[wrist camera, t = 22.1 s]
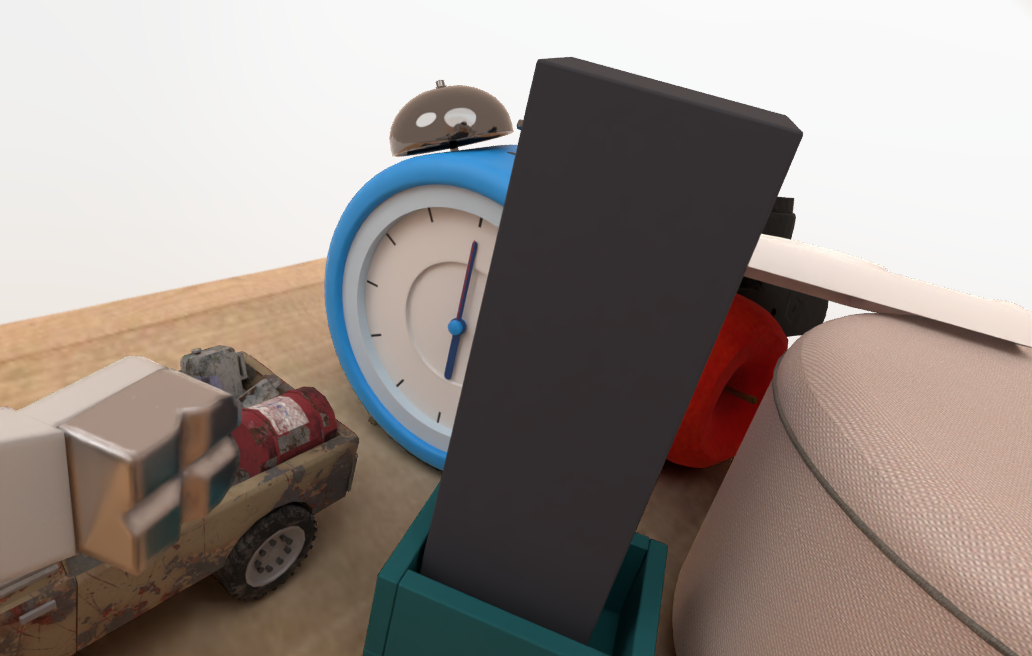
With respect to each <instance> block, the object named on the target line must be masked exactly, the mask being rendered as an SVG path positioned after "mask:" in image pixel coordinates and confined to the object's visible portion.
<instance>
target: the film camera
mask: <svg viewBox="0 0 1032 656" xmlns="http://www.w3.org/2000/svg"><path fill="white" fill-rule="evenodd" d="M793 205H794V198H785V197H777V198H776V200H775V203H774V205H773V208H772V210H771V212H770V215H769V217H768V219H767V222H766V224H765V226H764V229H763V231H762V233H761V234H764V235H770V236H776V237H781V238H785V239H790V240H791V237H792V233H793V230H794V225H795V219H796V216H795V214H794V213H793ZM737 294H739V295H742V296H744V297H745V298H747V299H749V300H751V301H753V302H755V303H757V304H758V305H760V306H761V307H762V308H764V309H765V310H767V311H768V312H769V313H770V314H771V315H772V316H773V317H774V318H775V319H776V321H777V322H778V323H779V325H780V326H781V328H782V330H783V332H784V333H785V335H786V337H789V336H797V335H803V334H804V333H806V332H807V331H809V330H811V329H812V328H814V327H816V326H818V325H820V324H822V323H823V321H824V319H825V316H826V311H827V308H828V300H825V299H822V298H818V297H815V296H811V295H808V294H804V293H801V292H797V291H794V290H790V289H787V288H783V287H780V286H776V285H773V284H769V283H766V282H762V281H759V280H755V279H752V278H748V277H745V276H743V278H742V281H741V283H740V285H739V288H738V290H737Z"/></svg>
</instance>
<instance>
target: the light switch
mask: <svg viewBox="0 0 1032 656" xmlns="http://www.w3.org/2000/svg"><path fill="white" fill-rule="evenodd" d="M744 276H745V277H748V278H752V279H755V280H759V281H762V282H766V283H769V284H773V285H776V286H780V287H783V288H787V289H790V290H794V291H797V292H801V293H804V294H808V295H811V296H815V297H818V298H822V299H825V300H828V301H832V302H835V303H839V304H842V305H847V306H850V307H854V308H858V309H863V310H867V311H871V312H876V313H892V314H908V315H916V316H924V317H928V318H932V319H935V320H939V321H942V322H946V323H949V324H953V325H956V326H960V327H963V328H967V329H970V330H974V331H977V332H981V333H984V334H988V335H991V336H995V337H998V338H1002V339H1005V340H1009V341H1012V342H1014V343H1016V344H1017V345H1021V346H1026V347H1030V348H1032V312H1031V311H1028V310H1024V308H1023V307H1021V306H1020V305H1017V304H1015V303H1011V302H1008V301H1003V300H988V299H984V298H980V297H977V296H973V295H970V294H966V293H962V292H959V291H955V290H952V289H949V288H945V287H941V286H937V285H934V284H930V283H927V282H923V281H920V280H916V279H912V278H909V277H905V276H902V275H898V274H894V273H891V272H888V270H886V268H884V267H882V266H881V265H879V264H876V263H873V262H870V261H867V260H864V259H862V258H858V257H855V256H851V255H848V254H845V253H841V252H838V251H835V250H831V249H827V248H823V247H819V246H815V245H811V244H808V243H803V242H799V241H794V240H790V239H785V238H781V237H776V236H770V235H764V234H761V236H760V238H759V241H758V243H757V245H756V248H755V250H754V252H753V255H752V257H751V259H750V262H749V264H748V267H747V269H746V271H745V274H744Z"/></svg>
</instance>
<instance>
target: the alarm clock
mask: <svg viewBox="0 0 1032 656" xmlns="http://www.w3.org/2000/svg"><path fill="white" fill-rule="evenodd" d="M436 85H437V87H436V89H434V90H430V91H427V92H424V93H422V94H419V95H418V96H416V97H415V98H413V99H412V100H410V101H409V102H408V103H407V104H406V105H405V106H404V107H403V108H402V109H401V110H400V112H399V113H398V114H397V116H396V117H395V119H394V122H393V124H392V127H391V131H390V146H391V152H392V156H393V157H400V156H410V155H417V154H422V153H429V152H434V151H440V150H445V149H450V150H451V152H444V153H435V154H429V155H423V156H418V157H413V158H410V159H407V160H404V161H401V162H399V163H397V164H395V165H393V166H391V167H389V168H387V169H385V170H383V171H382V172H380V173H379V174H377V175H376V176H374V177H373V178H372V179H371V180H370V181H368V182H367V183H366V184H365V185H364V186H363V187H362V188H361V189H360V190H359V191H358V192H357V193H356V195H355V196H354V197H353V199H352V200H351V201H350V203H349V204H348V206H347V207H346V209H345V211H344V212H343V214H342V216H341V218H340V221H339V223H338V225H337V227H336V229H335V231H334V235H333V237H332V241H331V244H330V248H329V252H328V256H327V263H326V269H325V305H326V313H327V319H328V325H329V329H330V334H331V338H332V341H333V344H334V348H335V351H336V354H337V356H338V359H339V361H340V364H341V366H342V369H343V371H344V373H345V375H346V377H347V379H348V381H349V383H350V385H351V386H352V388H353V390H354V392H355V393H356V395H357V396H358V398H359V400H360V401H361V403H362V404H363V405H364V407H365V408H366V410H367V411H368V412H369V414H370V415H371V417H370V419H369V420H368V421H369V422H370V423H371V424H373V423H374V422H377V423H378V424H379V425H380V426H381V428H382V429H383V430H384V431H385V432H386V433H387V434H388V435H389V436H390V437H392V438H393V439H394V440H395V441H396V442H397V443H398V444H399V445H401V446H402V447H403V448H405V449H406V450H407V451H408V452H410V453H411V454H413V455H414V456H416V457H417V458H419V459H420V460H422V461H424V462H426V463H427V464H429V465H431V466H433V467H435V468H437V469H440V470H442V471H443V468H444V464H445V460H446V455H447V451H448V446H449V442H450V438H451V433H452V429H453V425H454V420H455V416H456V412H457V407H458V403H459V399H460V394H461V390H462V385H463V381H464V377H465V372H466V368H467V364H468V359H469V355H470V351H471V346H472V342H473V338H474V333H475V329H476V324H477V320H478V316H479V311H480V307H481V303H482V298H483V294H484V290H485V285H486V281H487V277H488V272H489V268H490V264H491V259H492V255H493V250H494V246H495V242H496V237H497V233H498V229H499V224H500V220H501V216H502V211H503V207H504V203H505V198H506V194H507V189H508V185H509V181H510V176H511V172H512V168H513V163H514V159H515V155H516V150H517V146H518V145H500V146H491V147H483V148H475V149H467V150H460V151H459V150H458V147H460V146H465V145H469V144H474V143H478V142H482V141H487V140H491V139H494V138H498V137H502V136H505V135H508V134H510V133H512V132H513V128H512V123H511V120H510V116H509V114H508V112H507V111H506V109H505V107H504V106H503V105H502V104H501V103H500V102H499V101H498V100H497V99H496V98H495V97H493V96H492V95H490V94H489V93H487V92H485V91H483V90H480V89H477V88H474V87H469V86H462V85H457V86H448V87H446V86H445V84H444V80H439V81H437V82H436ZM522 124H523V120H519V121H518V123H517V129H519V130H521V129H522Z"/></svg>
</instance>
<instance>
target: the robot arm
mask: <svg viewBox="0 0 1032 656" xmlns="http://www.w3.org/2000/svg"><path fill="white" fill-rule="evenodd" d="M241 424H242V402H241V401H240V400H238V399H237V398H236V397H235V396H234V395H232V394H230V393H227V392H225V391H223V390H221V389H218V388H216V387H214V386H211V385H209V384H207V383H204V382H202V381H200V380H197V379H195V378H193V377H191V376H188V375H186V374H184V373H181V372H179V371H177V370H174V369H169V368H167V367H165V366H163V365H161V364H158V363H156V362H154V361H152V360H149V359H147V358H145V357H143V356H126V357H124V358H122V359H120V360H118V361H116V362H114V363H112V364H110V365H108V366H106V367H104V368H102V369H100V370H98V371H96V372H94V373H92V374H90V375H88V376H86V377H84V378H82V379H80V380H78V381H76V382H74V383H72V384H70V385H68V386H66V387H64V388H62V389H60V390H58V391H56V392H54V393H52V394H50V395H48V396H46V397H44V398H42V399H40V400H38V401H36V402H34V403H32V404H30V405H28V406H26V407H24V408H22V409H20V410H18V411H16V410H14V409H11V408H9V407H0V584H1V583H4V582H6V581H9V580H12V579H14V578H17V577H19V576H22V575H25V574H27V573H30V572H33V571H35V570H38V569H40V568H43V567H46V566H48V565H51V564H54V563H56V562H59V561H61V560H64V559H67V558H69V557H72V556H75V555H76V554H77V553H76V551H79V552H81V553H83V554H86V555H88V556H90V557H93V558H95V559H97V560H100V561H102V562H104V563H107V564H109V565H111V566H114V567H116V568H118V569H120V570H123V571H125V572H127V573H130V574H132V575H134V576H137V577H138V576H139V575H140V574H141V573H142V572H143V571H145V570H146V569H147V568H148V567H149V566H150V565H151V564H152V563H154V562H155V561H156V560H157V559H158V558H159V557H160V556H162V555H163V554H164V553H165V552H166V551H167V550H168V549H169V548H171V547H172V546H173V545H174V544H175V543H176V542H177V541H179V539H180V533H181V527H182V523H185V522H189V521H192V520H195V519H199V518H202V517H205V516H207V515H208V514H209V513H210V512H211V511H212V510H213V509H214V508H215V507H216V506H217V505H218V504H219V503H221V502H222V500H223V498H224V497H225V495H226V494H227V492H228V491H229V489H230V488H231V486H232V485H233V483H234V481H235V478H236V475H237V471H238V468H239V464H240V449H239V447H238V445H237V443H236V441H235V439H234V437H233V435H232V434H231V432H232V431H234V430H235V429H236V428H237V427H238V426H239V425H241Z"/></svg>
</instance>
